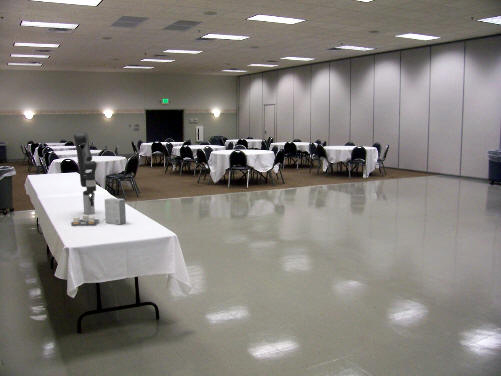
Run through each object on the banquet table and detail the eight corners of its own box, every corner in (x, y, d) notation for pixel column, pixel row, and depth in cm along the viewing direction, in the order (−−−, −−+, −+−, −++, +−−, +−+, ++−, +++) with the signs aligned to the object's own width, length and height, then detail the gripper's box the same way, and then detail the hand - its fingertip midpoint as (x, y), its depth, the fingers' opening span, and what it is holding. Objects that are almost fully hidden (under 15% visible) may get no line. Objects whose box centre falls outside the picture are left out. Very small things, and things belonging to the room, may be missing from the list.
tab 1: (74, 222, 395) (74, 216, 395) (79, 222, 396) (79, 216, 395) (73, 223, 392) (73, 217, 391) (78, 223, 392) (78, 217, 391)
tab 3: (89, 222, 397) (89, 216, 396) (94, 222, 397) (94, 216, 396) (88, 223, 393) (88, 217, 392) (93, 223, 393) (93, 217, 392)
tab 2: (84, 220, 402) (83, 214, 402) (89, 220, 403) (88, 214, 402) (83, 221, 398) (82, 215, 398) (88, 221, 399) (87, 215, 398)
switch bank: (75, 222, 403) (75, 219, 403) (98, 222, 405) (98, 218, 404) (71, 226, 391) (71, 222, 390) (95, 225, 393) (95, 222, 392)
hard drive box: (126, 222, 402) (125, 199, 399) (120, 224, 396) (119, 200, 392) (111, 221, 409) (110, 197, 406) (105, 223, 402) (104, 199, 399)
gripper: (88, 183, 406) (89, 204, 410) (84, 186, 394) (85, 207, 397) (97, 183, 407) (98, 203, 411) (94, 186, 394) (95, 207, 398)
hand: (92, 205), depth 404 cm, fingers closed
